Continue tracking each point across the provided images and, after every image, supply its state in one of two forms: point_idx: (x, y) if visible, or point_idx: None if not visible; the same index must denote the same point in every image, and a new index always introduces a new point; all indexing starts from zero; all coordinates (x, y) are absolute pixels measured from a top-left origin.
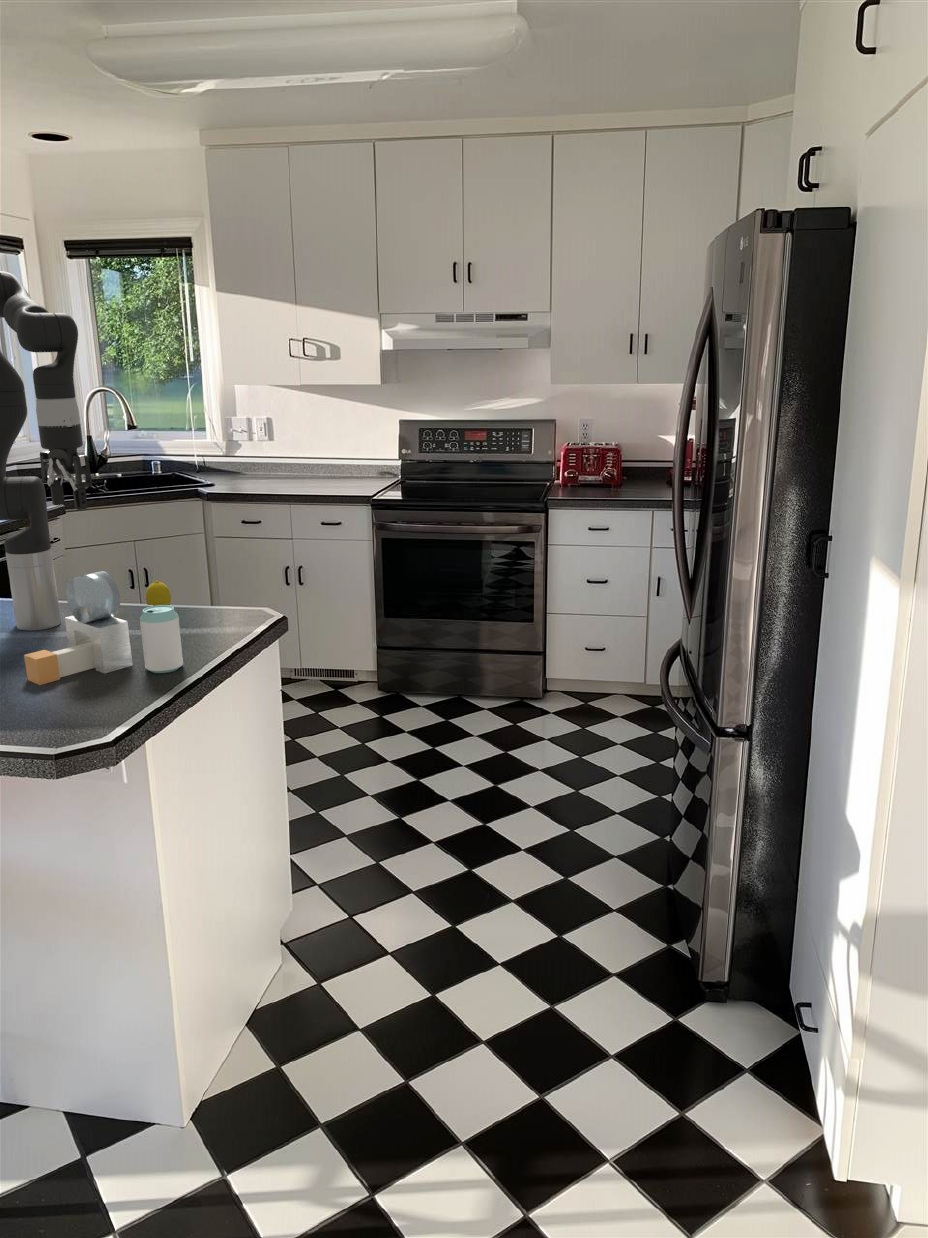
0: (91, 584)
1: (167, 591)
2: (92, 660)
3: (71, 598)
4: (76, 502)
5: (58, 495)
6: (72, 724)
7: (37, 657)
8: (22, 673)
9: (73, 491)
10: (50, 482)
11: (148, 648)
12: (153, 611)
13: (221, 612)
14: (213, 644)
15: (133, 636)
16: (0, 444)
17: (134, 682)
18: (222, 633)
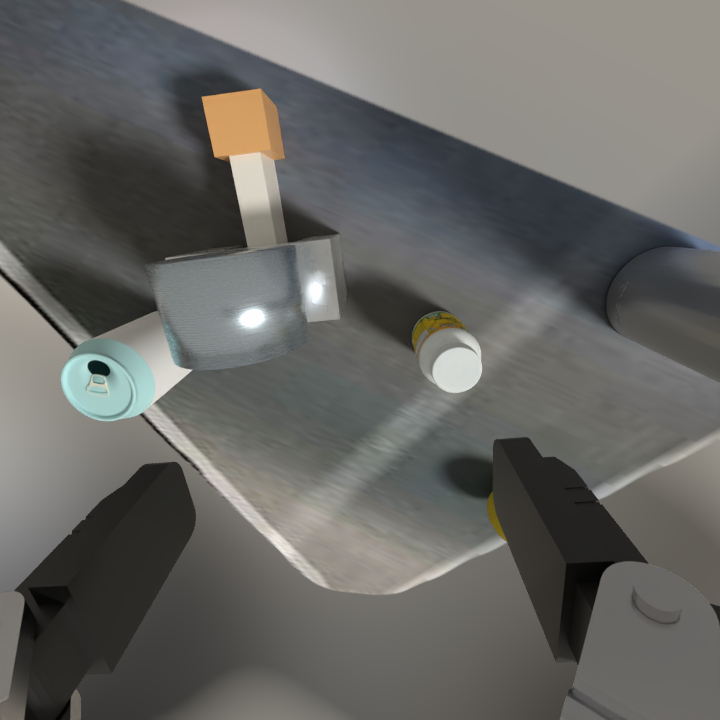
0: (155, 290)
1: (497, 532)
2: None
3: (263, 249)
4: (113, 497)
5: (519, 527)
6: None
7: (216, 107)
8: (331, 116)
9: (62, 578)
10: (607, 615)
11: (127, 323)
12: (96, 375)
13: (420, 553)
14: (251, 458)
15: (404, 392)
16: None
17: (127, 266)
18: (301, 496)
